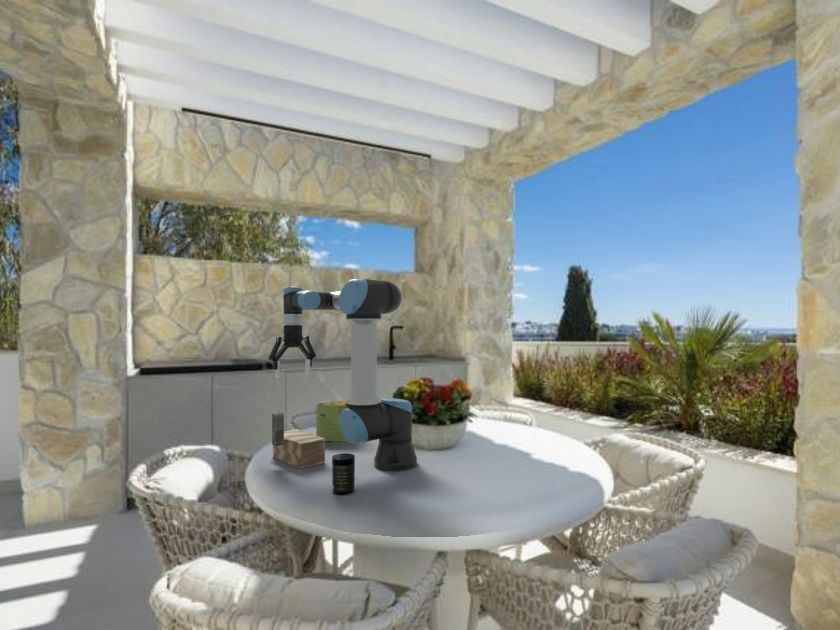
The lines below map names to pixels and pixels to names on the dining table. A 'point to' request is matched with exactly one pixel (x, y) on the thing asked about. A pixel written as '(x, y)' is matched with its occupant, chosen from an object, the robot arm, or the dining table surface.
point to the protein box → (330, 420)
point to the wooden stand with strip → (289, 433)
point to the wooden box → (300, 453)
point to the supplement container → (343, 473)
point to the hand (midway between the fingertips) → (293, 376)
